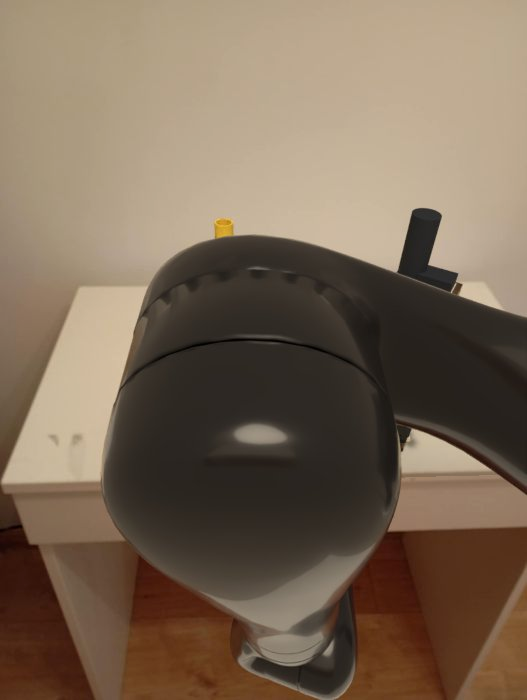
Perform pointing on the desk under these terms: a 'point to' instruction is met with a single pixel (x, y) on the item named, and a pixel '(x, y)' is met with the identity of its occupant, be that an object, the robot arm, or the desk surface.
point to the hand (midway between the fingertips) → (361, 376)
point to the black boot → (424, 251)
